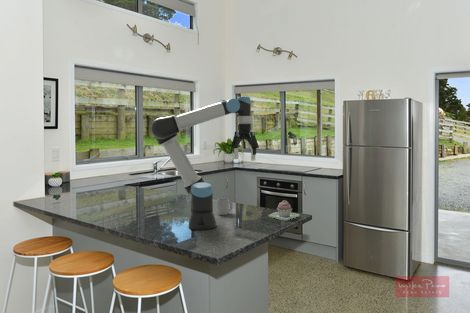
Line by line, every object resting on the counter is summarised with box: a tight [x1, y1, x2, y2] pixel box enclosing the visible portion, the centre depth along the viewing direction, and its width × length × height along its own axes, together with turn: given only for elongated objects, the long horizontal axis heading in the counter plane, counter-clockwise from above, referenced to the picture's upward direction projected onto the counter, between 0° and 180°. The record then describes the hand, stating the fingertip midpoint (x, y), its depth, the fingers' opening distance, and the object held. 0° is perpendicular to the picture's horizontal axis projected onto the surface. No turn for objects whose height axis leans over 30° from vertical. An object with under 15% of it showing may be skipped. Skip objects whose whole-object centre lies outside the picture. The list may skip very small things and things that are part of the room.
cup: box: [216, 198, 234, 216], centre depth 244 cm, size 7×10×9 cm
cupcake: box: [276, 199, 293, 217], centre depth 233 cm, size 9×9×10 cm
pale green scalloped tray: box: [268, 211, 300, 222], centre depth 234 cm, size 13×14×2 cm
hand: (244, 159), depth 230 cm, fingers open, 13 cm apart
